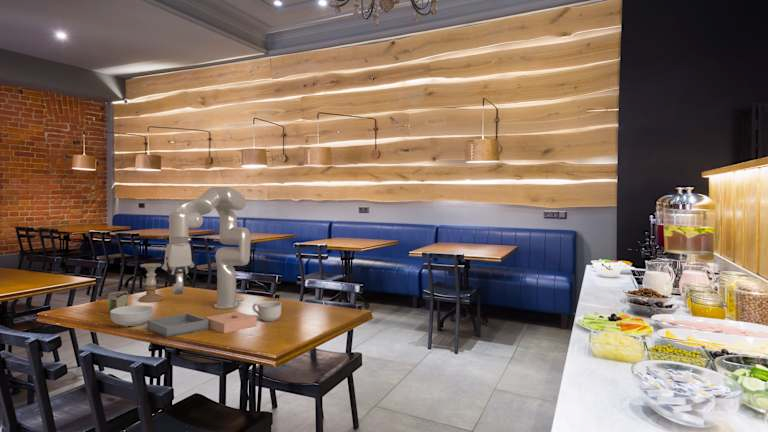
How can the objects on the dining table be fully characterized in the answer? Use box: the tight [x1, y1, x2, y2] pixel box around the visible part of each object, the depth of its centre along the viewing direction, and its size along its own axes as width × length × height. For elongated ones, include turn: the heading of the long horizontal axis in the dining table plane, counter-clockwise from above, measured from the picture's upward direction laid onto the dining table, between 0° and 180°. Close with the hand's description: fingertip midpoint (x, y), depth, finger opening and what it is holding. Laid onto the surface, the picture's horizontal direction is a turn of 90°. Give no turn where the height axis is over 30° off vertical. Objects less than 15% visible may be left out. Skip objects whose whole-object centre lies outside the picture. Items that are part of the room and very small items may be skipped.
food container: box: [107, 290, 129, 312], centre depth 220 cm, size 12×6×10 cm, turn 5°
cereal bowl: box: [109, 304, 154, 328], centre depth 201 cm, size 17×17×7 cm
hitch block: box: [204, 310, 258, 334], centre depth 201 cm, size 16×16×4 cm
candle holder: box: [138, 262, 164, 303], centre depth 251 cm, size 12×12×20 cm
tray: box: [146, 312, 209, 339], centre depth 195 cm, size 18×18×4 cm
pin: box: [172, 267, 184, 296], centre depth 194 cm, size 4×4×11 cm
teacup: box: [251, 300, 282, 322], centre depth 214 cm, size 14×11×8 cm
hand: (178, 282), depth 194 cm, fingers closed on pin, 4 cm apart
